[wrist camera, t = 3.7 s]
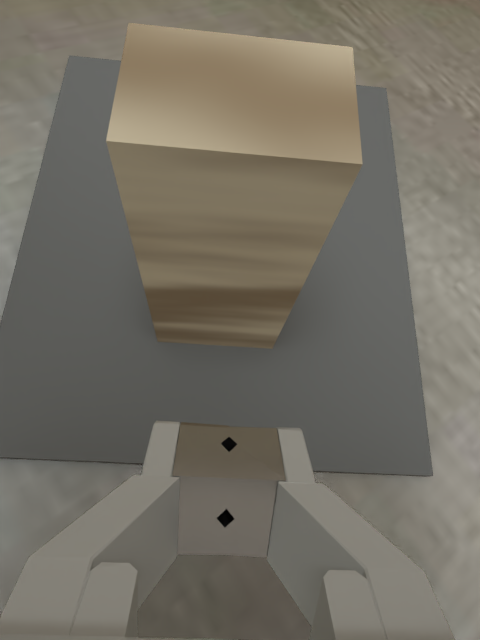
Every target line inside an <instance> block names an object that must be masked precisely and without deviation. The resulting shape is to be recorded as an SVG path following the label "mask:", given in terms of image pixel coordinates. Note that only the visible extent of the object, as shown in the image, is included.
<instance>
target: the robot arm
mask: <svg viewBox="0 0 480 640" xmlns="http://www.w3.org/2000/svg"><path fill="white" fill-rule="evenodd" d="M177 555H231V556H247V557H262V558H267V561H268V563H269V564H270V566H271V567H272V569H273V570H274V572H275V573H276V574H277V576H278V577H279V579H280V580H281V582H282V583H283V585H284V586H285V588H286V589H287V591H288V592H289V594H290V595H291V597H292V598H293V600H294V601H295V603H296V604H297V606H298V607H299V609H300V610H301V612H302V613H303V615H304V616H305V618H306V619H307V621H308V622H309V624H310V625H311V627H312V629H311V634H310V638H309V640H455V638H454V636H453V634H452V632H451V630H450V627H449V625H448V623H447V621H446V619H445V616H444V614H443V612H442V610H441V607H440V605H439V603H438V601H437V599H436V596H435V594H434V592H433V590H432V588H431V585H430V583H429V581H428V579H427V577H426V574H425V572H424V571H423V570H422V569H421V568H420V567H419V566H417V565H416V564H415V563H414V562H413V561H412V560H411V559H409V558H408V557H407V556H406V555H405V554H404V553H403V552H401V551H400V550H399V549H398V548H397V547H396V546H395V545H393V544H392V543H391V542H390V541H389V540H388V539H386V538H385V537H384V536H383V535H382V534H381V533H380V532H378V531H377V530H376V529H375V528H374V527H373V526H372V525H370V524H369V523H368V522H367V521H366V520H365V519H364V518H362V517H361V516H360V515H359V514H358V513H357V512H356V511H354V510H353V509H352V508H351V507H350V506H349V505H347V504H346V503H345V502H344V501H343V500H342V499H341V498H339V497H338V496H337V495H336V494H335V493H334V492H333V491H331V490H330V489H329V488H328V487H327V486H326V485H325V484H323V483H316V481H315V477H314V473H313V469H312V466H311V462H310V458H309V454H308V451H307V447H306V443H305V439H304V435H303V432H302V430H301V429H300V428H285V427H276V428H264V427H240V426H229V425H215V424H201V423H188V422H181V423H180V422H172V421H156V422H155V423H154V425H153V429H152V432H151V436H150V440H149V444H148V448H147V452H146V456H145V460H144V464H143V468H142V472H141V475H132V476H131V477H130V478H129V479H127V480H126V481H125V482H124V483H122V484H121V485H120V486H118V487H117V488H116V489H115V490H113V491H112V492H111V493H110V494H108V495H107V496H106V497H104V498H103V499H102V500H101V501H99V502H98V503H97V504H96V505H94V506H93V507H92V508H90V509H89V510H88V511H87V512H85V513H84V514H83V515H82V516H80V517H79V518H78V519H76V520H75V521H74V522H73V523H71V524H70V525H69V526H68V527H66V528H65V529H64V530H62V531H61V532H60V533H59V534H57V535H56V536H55V537H54V538H52V539H51V540H50V541H48V542H47V543H46V544H45V545H43V546H42V547H41V548H40V549H38V550H37V551H36V552H34V553H33V554H32V555H31V556H29V558H28V560H27V562H26V564H25V566H24V568H23V570H22V572H21V574H20V577H19V579H18V581H17V583H16V585H15V587H14V589H13V591H12V593H11V595H10V598H9V600H8V602H7V604H6V606H5V608H4V610H3V612H2V614H1V617H0V640H236V639H194V638H153V637H138V609H139V608H140V606H141V605H142V603H143V602H144V601H145V599H146V598H147V597H148V595H149V594H150V593H151V591H152V590H153V589H154V587H155V586H156V585H157V583H158V582H159V581H160V579H161V578H162V577H163V575H164V574H165V573H166V571H167V570H168V569H169V567H170V566H171V565H172V563H173V562H174V561H175V559H176V558H177Z"/></svg>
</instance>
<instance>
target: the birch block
mask: <svg viewBox="0 0 480 640" xmlns="http://www.w3.org/2000/svg"><path fill="white" fill-rule="evenodd" d="M106 143H107V147H108V151H109V155H110V158H111V162H112V166H113V170H114V174H115V178H116V182H117V186H118V189H119V193H120V197H121V201H122V205H123V209H124V213H125V217H126V221H127V224H128V228H129V232H130V236H131V240H132V244H133V248H134V252H135V255H136V259H137V263H138V267H139V271H140V275H141V279H142V283H143V287H144V290H145V294H146V298H147V302H148V306H149V310H150V314H151V318H152V322H153V325H154V329H155V333H156V337H157V341H158V342H171V343H187V344H204V345H220V346H236V347H252V348H269V349H272V348H273V346H274V344H275V342H276V340H277V338H278V336H279V334H280V332H281V330H282V328H283V326H284V324H285V322H286V320H287V318H288V315H289V313H290V311H291V309H292V307H293V305H294V303H295V301H296V299H297V297H298V295H299V293H300V291H301V289H302V287H303V285H304V283H305V281H306V279H307V277H308V275H309V273H310V271H311V269H312V267H313V264H314V262H315V260H316V258H317V256H318V254H319V252H320V250H321V248H322V246H323V244H324V242H325V240H326V238H327V236H328V234H329V232H330V230H331V228H332V226H333V224H334V222H335V220H336V218H337V216H338V213H339V211H340V209H341V207H342V205H343V203H344V201H345V199H346V197H347V195H348V193H349V191H350V189H351V187H352V185H353V183H354V181H355V179H356V177H357V175H358V173H359V171H360V169H361V167H362V165H363V163H362V151H361V140H360V128H359V116H358V105H357V93H356V81H355V70H354V58H353V47H346V46H337V45H328V44H318V43H309V42H300V41H291V40H282V39H272V38H263V37H254V36H245V35H236V34H226V33H217V32H208V31H199V30H190V29H180V28H171V27H162V26H153V25H143V24H134V23H129V24H128V29H127V34H126V39H125V45H124V50H123V55H122V60H121V66H120V71H119V76H118V81H117V86H116V92H115V97H114V102H113V107H112V112H111V118H110V123H109V128H108V133H107V138H106Z"/></svg>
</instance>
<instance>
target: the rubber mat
mask: <svg viewBox="0 0 480 640" xmlns="http://www.w3.org/2000/svg"><path fill="white" fill-rule="evenodd" d="M120 66H121V61H118V60H108V59H98V58H89V57H79V56H69V59H68V63H67V67H66V70H65V74H64V78H63V82H62V86H61V90H60V94H59V98H58V102H57V106H56V109H55V113H54V117H53V121H52V125H51V129H50V133H49V137H48V141H47V145H46V148H45V152H44V156H43V160H42V164H41V168H40V172H39V176H38V180H37V184H36V187H35V191H34V195H33V199H32V203H31V207H30V211H29V215H28V219H27V223H26V227H25V230H24V234H23V238H22V242H21V246H20V250H19V254H18V258H17V262H16V266H15V269H14V273H13V277H12V281H11V285H10V289H9V293H8V297H7V301H6V305H5V308H4V312H3V316H2V320H1V324H0V458H16V459H39V460H62V461H85V462H108V463H131V464H144V460H145V456H146V452H147V448H148V444H149V440H150V436H151V432H152V429H153V425H154V423H155V422H156V421H172V422H180V423H181V422H188V423H201V424H215V425H229V426H240V427H264V428H276V427H285V428H300V429H301V430H302V432H303V435H304V439H305V443H306V447H307V451H308V454H309V458H310V462H311V466H312V469H313V471H316V472H340V473H363V474H386V475H409V476H433V471H432V463H431V455H430V446H429V438H428V430H427V422H426V413H425V405H424V397H423V389H422V380H421V372H420V364H419V356H418V347H417V339H416V331H415V322H414V314H413V306H412V298H411V289H410V281H409V273H408V265H407V256H406V248H405V240H404V232H403V223H402V215H401V207H400V199H399V190H398V182H397V174H396V165H395V157H394V149H393V141H392V132H391V124H390V116H389V108H388V99H387V91H386V88H380V87H371V86H361V85H356V93H357V105H358V116H359V128H360V140H361V151H362V163H363V165H362V167H361V169H360V171H359V173H358V175H357V177H356V179H355V181H354V183H353V185H352V187H351V189H350V191H349V193H348V195H347V197H346V199H345V201H344V203H343V205H342V207H341V209H340V211H339V213H338V216H337V218H336V220H335V222H334V224H333V226H332V228H331V230H330V232H329V234H328V236H327V238H326V240H325V242H324V244H323V246H322V248H321V250H320V252H319V254H318V256H317V258H316V260H315V262H314V264H313V267H312V269H311V271H310V273H309V275H308V277H307V279H306V281H305V283H304V285H303V287H302V289H301V291H300V293H299V295H298V297H297V299H296V301H295V303H294V305H293V307H292V309H291V311H290V313H289V315H288V318H287V320H286V322H285V324H284V326H283V328H282V330H281V332H280V334H279V336H278V338H277V340H276V342H275V344H274V346H273V348H272V349H269V348H252V347H236V346H220V345H204V344H187V343H171V342H158V341H157V337H156V333H155V329H154V325H153V322H152V318H151V314H150V310H149V306H148V302H147V298H146V294H145V290H144V287H143V283H142V279H141V275H140V271H139V267H138V263H137V259H136V255H135V252H134V248H133V244H132V240H131V236H130V232H129V228H128V224H127V221H126V217H125V213H124V209H123V205H122V201H121V197H120V193H119V189H118V186H117V182H116V178H115V174H114V170H113V166H112V162H111V158H110V155H109V151H108V147H107V143H106V138H107V133H108V128H109V123H110V118H111V112H112V107H113V102H114V97H115V92H116V86H117V81H118V76H119V71H120Z"/></svg>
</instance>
